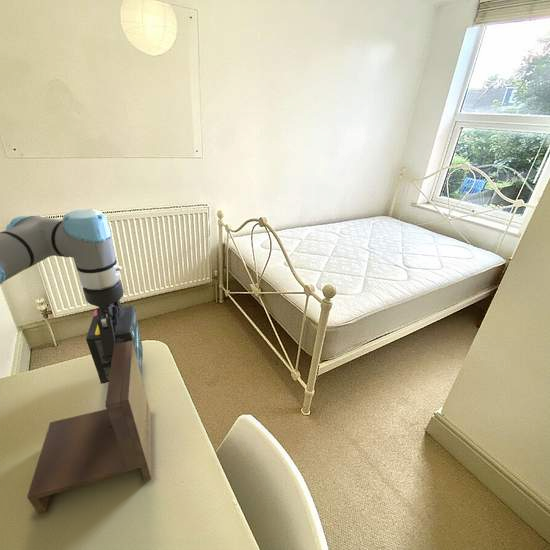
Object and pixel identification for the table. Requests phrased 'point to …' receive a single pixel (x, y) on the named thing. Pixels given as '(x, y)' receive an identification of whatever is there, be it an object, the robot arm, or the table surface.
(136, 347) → the tampon box
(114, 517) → the table surface
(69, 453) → the wooden display stand
